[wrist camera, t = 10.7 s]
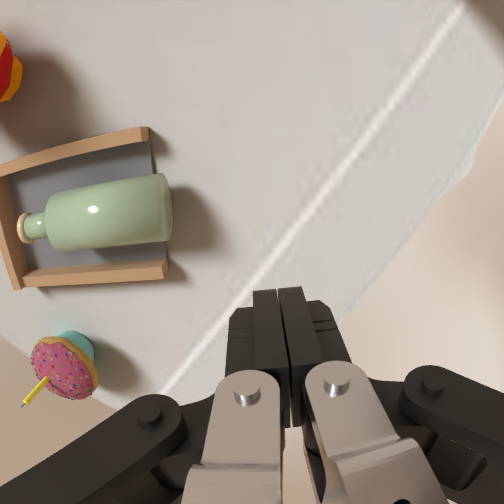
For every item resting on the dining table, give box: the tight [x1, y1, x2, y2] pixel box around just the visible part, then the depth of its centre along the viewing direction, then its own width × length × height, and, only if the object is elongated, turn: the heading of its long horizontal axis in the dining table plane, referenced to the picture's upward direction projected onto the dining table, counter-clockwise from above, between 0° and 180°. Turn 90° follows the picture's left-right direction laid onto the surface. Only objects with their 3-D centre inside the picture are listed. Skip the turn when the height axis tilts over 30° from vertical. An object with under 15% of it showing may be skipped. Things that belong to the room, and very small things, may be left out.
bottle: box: [17, 173, 173, 252], centre depth 24 cm, size 5×5×15 cm
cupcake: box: [20, 331, 99, 407], centre depth 28 cm, size 9×8×12 cm
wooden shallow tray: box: [0, 127, 169, 290], centre depth 26 cm, size 18×13×3 cm
